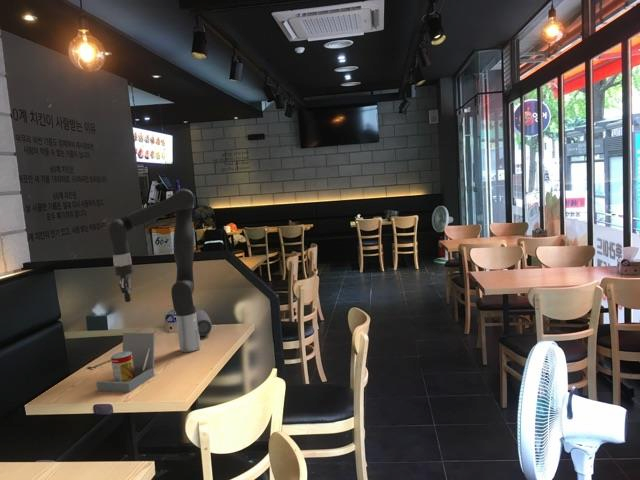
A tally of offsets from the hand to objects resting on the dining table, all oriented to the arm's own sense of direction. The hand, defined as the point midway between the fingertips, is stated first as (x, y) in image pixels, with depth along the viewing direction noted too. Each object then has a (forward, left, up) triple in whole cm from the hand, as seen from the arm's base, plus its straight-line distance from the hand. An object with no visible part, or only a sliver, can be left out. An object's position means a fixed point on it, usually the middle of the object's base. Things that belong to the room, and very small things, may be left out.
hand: (128, 301), depth 238 cm
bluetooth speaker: (-27, -31, -27) cm, 49 cm away
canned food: (-2, +30, -27) cm, 40 cm away
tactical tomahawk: (+11, -1, -28) cm, 30 cm away
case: (-3, +28, -27) cm, 39 cm away
